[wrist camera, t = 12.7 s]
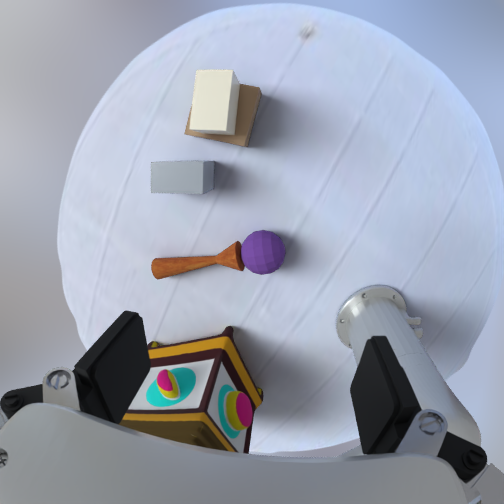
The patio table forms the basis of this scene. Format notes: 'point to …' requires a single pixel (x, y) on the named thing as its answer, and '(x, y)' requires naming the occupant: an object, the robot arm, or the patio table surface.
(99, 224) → the patio table surface
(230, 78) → the cream brick
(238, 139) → the walnut block
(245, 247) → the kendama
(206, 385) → the decorative lantern
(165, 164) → the slate grey brick
